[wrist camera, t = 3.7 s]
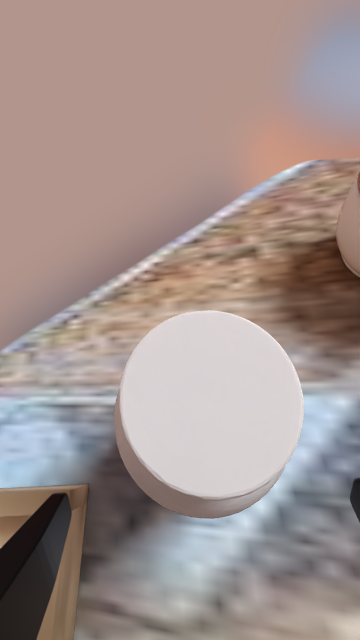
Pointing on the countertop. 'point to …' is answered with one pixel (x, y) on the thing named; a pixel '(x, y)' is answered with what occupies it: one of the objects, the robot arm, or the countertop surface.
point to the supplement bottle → (207, 413)
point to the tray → (16, 508)
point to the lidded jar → (350, 229)
